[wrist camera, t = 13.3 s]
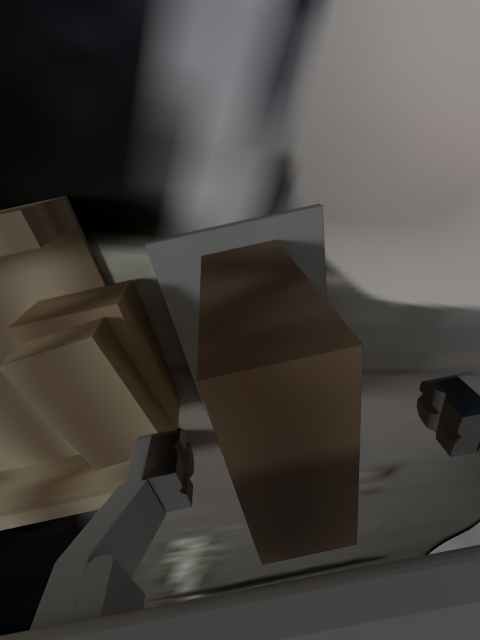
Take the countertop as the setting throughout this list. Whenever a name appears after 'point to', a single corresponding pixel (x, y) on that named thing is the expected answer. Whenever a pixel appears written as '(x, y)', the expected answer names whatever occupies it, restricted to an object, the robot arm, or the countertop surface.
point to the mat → (186, 249)
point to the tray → (9, 403)
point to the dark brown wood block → (281, 399)
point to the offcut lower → (125, 322)
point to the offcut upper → (87, 391)
